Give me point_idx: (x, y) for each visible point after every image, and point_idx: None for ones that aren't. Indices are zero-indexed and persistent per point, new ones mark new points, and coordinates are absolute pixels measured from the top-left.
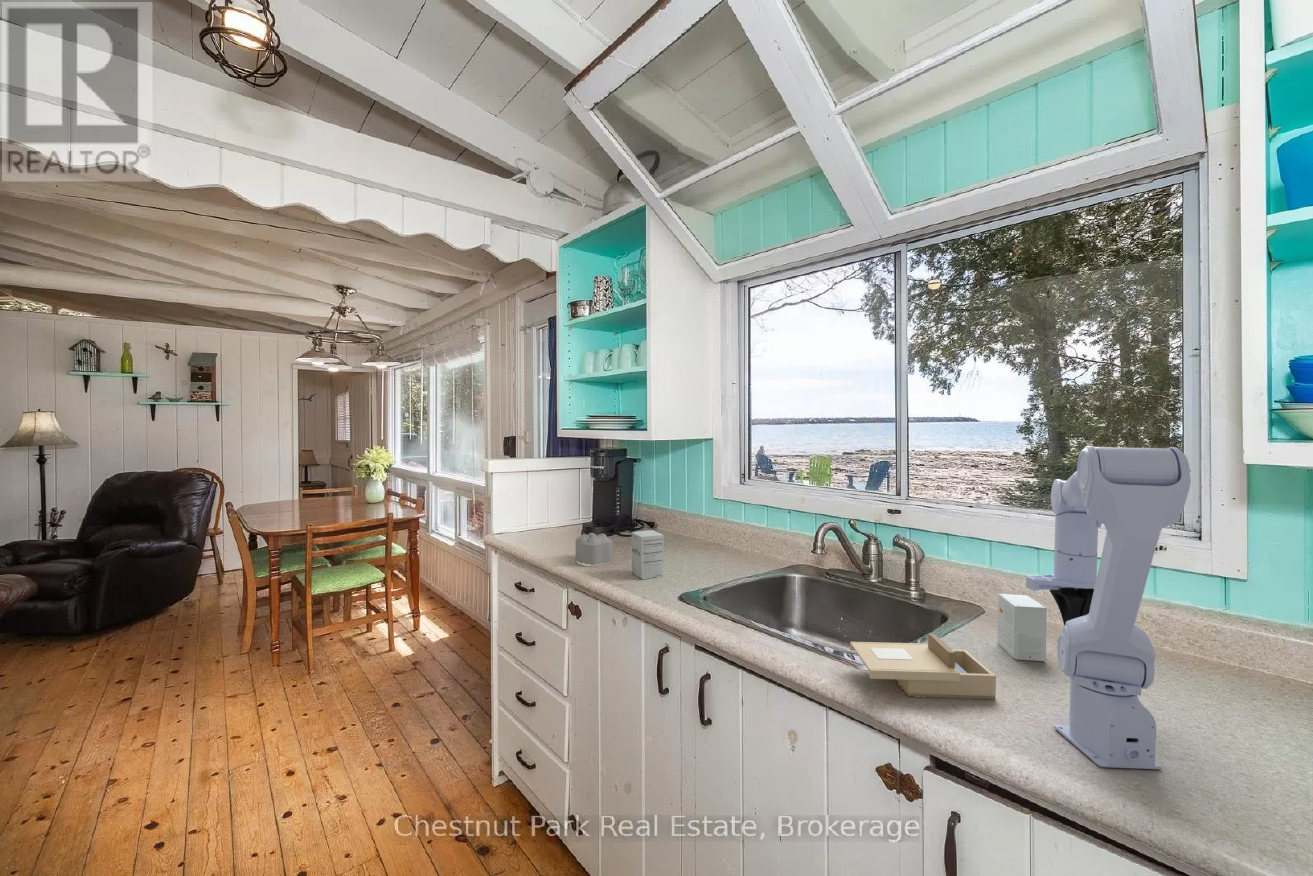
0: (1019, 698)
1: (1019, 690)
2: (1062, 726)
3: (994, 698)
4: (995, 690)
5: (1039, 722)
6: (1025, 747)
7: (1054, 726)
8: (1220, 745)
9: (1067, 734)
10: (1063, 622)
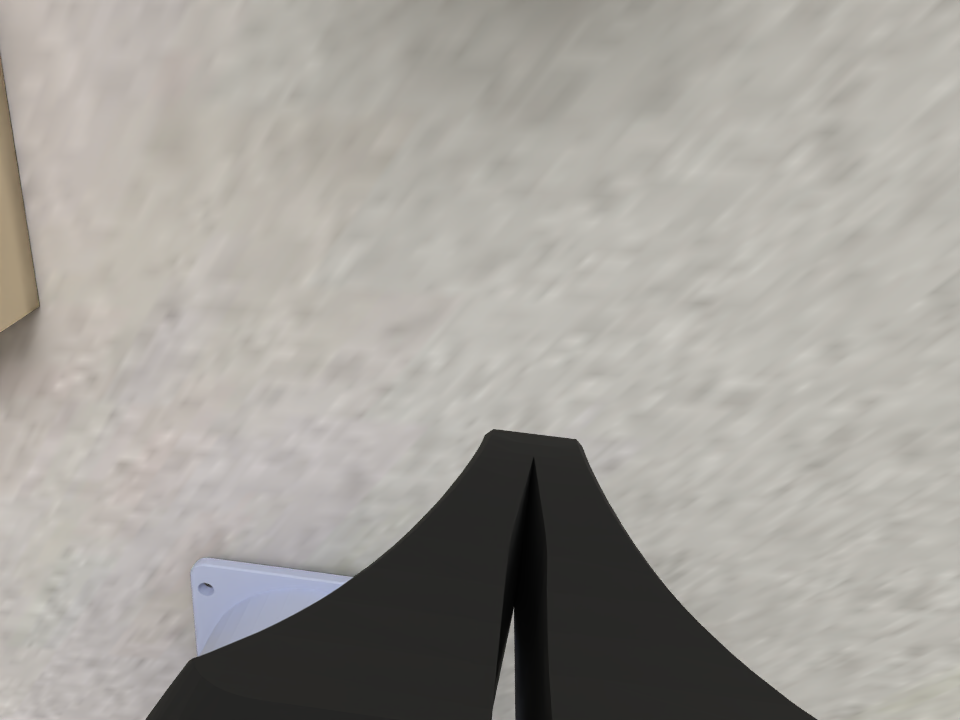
0: (185, 298)
1: (237, 208)
2: (221, 581)
3: (31, 307)
4: (5, 328)
5: (164, 506)
6: (13, 640)
7: (192, 567)
8: (835, 707)
9: (203, 630)
10: (472, 459)
